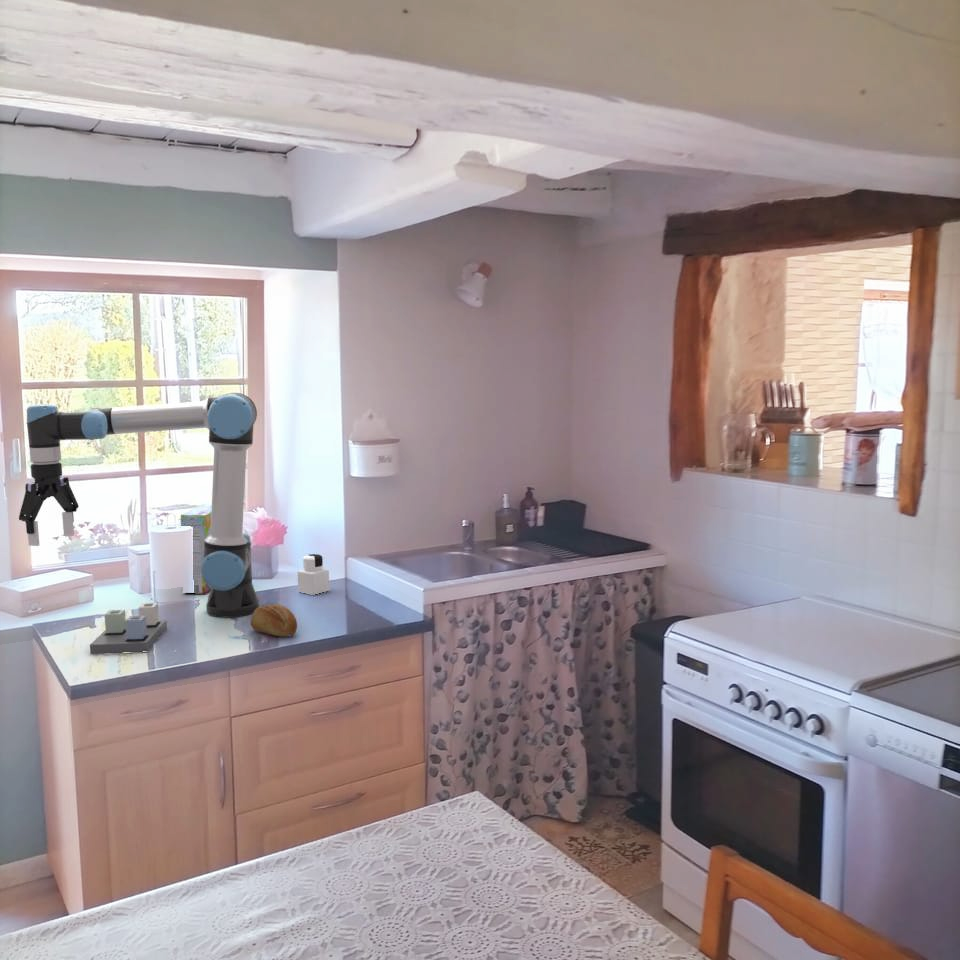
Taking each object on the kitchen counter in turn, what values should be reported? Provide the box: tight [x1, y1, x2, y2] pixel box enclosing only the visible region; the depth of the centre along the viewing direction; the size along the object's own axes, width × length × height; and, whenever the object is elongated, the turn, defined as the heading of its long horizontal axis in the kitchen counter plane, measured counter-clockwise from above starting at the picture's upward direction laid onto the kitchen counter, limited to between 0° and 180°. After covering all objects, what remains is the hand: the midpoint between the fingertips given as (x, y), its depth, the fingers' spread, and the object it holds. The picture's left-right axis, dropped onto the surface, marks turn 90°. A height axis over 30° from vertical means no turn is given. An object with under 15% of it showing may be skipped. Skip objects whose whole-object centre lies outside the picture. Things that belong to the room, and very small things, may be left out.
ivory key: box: [138, 602, 160, 625], centre depth 245 cm, size 4×4×5 cm
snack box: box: [180, 504, 212, 595], centre depth 295 cm, size 22×9×26 cm, turn 179°
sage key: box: [104, 609, 126, 633], centre depth 239 cm, size 4×4×5 cm
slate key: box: [125, 615, 147, 639], centre depth 233 cm, size 4×4×5 cm
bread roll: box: [250, 603, 298, 637], centre depth 245 cm, size 10×15×8 cm, turn 56°
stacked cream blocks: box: [297, 553, 330, 596], centre depth 288 cm, size 7×7×12 cm
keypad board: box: [89, 619, 168, 655], centre depth 240 cm, size 14×20×2 cm
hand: (52, 540), depth 245 cm, fingers open, 13 cm apart
